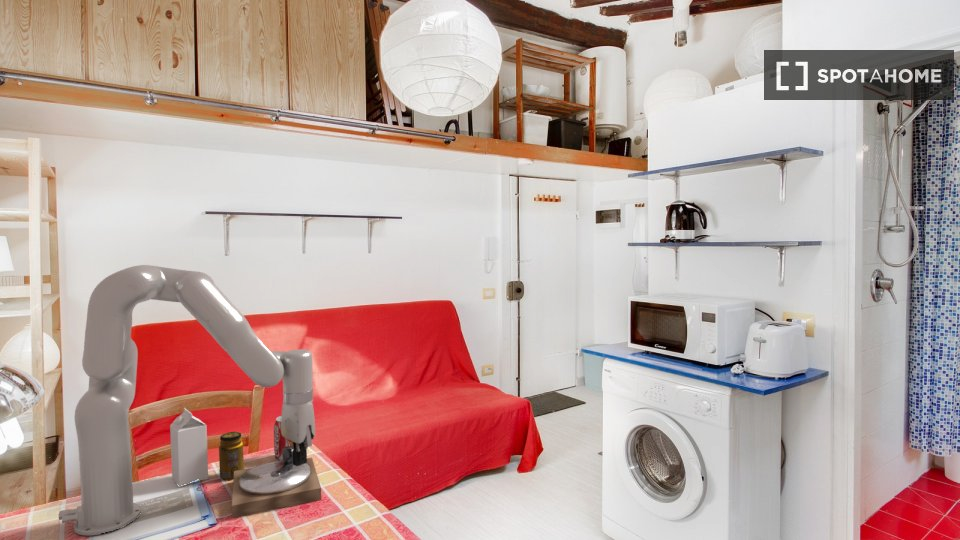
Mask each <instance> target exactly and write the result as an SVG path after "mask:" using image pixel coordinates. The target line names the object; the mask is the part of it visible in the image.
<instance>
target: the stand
mask: <svg viewBox="0 0 960 540" xmlns="http://www.w3.org/2000/svg"><path fill="white" fill-rule="evenodd" d="M313 460H314V459H313V457H307V463H306V464H307V465H309V467H310V477H309V479H308V480H307V481H306V482H305V483H303V484H302V485H300V486H298V487H296V488H294V489H291V490H288V491H285V492H281V493H277V494H270V495H253V494H249V493H246V492H244V491H242V490H241V489H240V478H241V476H242V475H243V474H244V473H245V472H247V471H248V470H250V469H252V468H253V467H248V468H244V469H243V470H237V471H234V479H233V482H232V496H231V497H232V498H231V500H232V501H231V518H232V519H236V518H239V517H245V516H250V515H254V514H258V513H263V512H268V511H269V512H270V511H273V510H278V509H279V510H280V509H283V508H288V507H292V506H297V505H303V504H307V503H312V502H316V501H322V487H321V483H320V480H319V476H318V473H317V471H316V467H315V463H314V461H313Z"/></svg>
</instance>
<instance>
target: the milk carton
mask: <svg viewBox="0 0 960 540" xmlns="http://www.w3.org/2000/svg"><path fill="white" fill-rule="evenodd" d="M207 426H208V425H207V424H206V423H204V422H203V421H202V420H201V419H200V418H197V417H196V416H194V415H193V413H192V412H191V411H189V410H188V409H187V408H186V407H183V411H182V413H181V414H180V415H179V416H177V417H176V418H175V419H174V420H173V421H172V423H171V424H170V426H169V427H170V429H169V430H170V454H171V457H170V458H171V480H172V481H173V480H174V481H175V482H176V483H177V484H178V485H179V486H181V485H184V484H188V483H190V482H192V481H195V480H197V479H199V480H202V481H205V480H208V479H209V458H208V435H207V434H208V432H207V430H208V429H207ZM174 481H173V482H174ZM175 482H174V483H175ZM176 483H175V484H176ZM177 484H176V485H177ZM178 485H177V486H178Z"/></svg>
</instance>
